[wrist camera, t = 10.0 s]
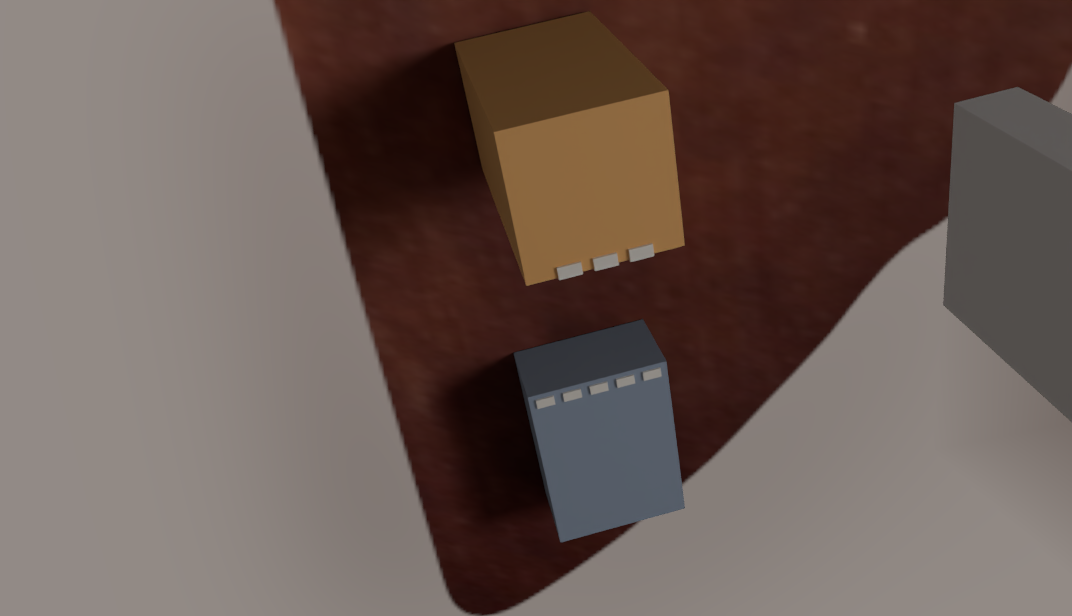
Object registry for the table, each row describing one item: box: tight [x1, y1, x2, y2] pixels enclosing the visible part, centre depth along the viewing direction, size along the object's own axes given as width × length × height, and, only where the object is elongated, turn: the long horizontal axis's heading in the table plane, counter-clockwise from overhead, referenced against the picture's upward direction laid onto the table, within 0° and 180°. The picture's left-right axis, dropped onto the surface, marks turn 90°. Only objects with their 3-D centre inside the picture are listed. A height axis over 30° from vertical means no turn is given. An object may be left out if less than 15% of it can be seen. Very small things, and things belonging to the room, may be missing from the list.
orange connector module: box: [454, 11, 685, 286], centre depth 38 cm, size 6×6×11 cm
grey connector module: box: [514, 319, 685, 542], centre depth 51 cm, size 10×7×4 cm
